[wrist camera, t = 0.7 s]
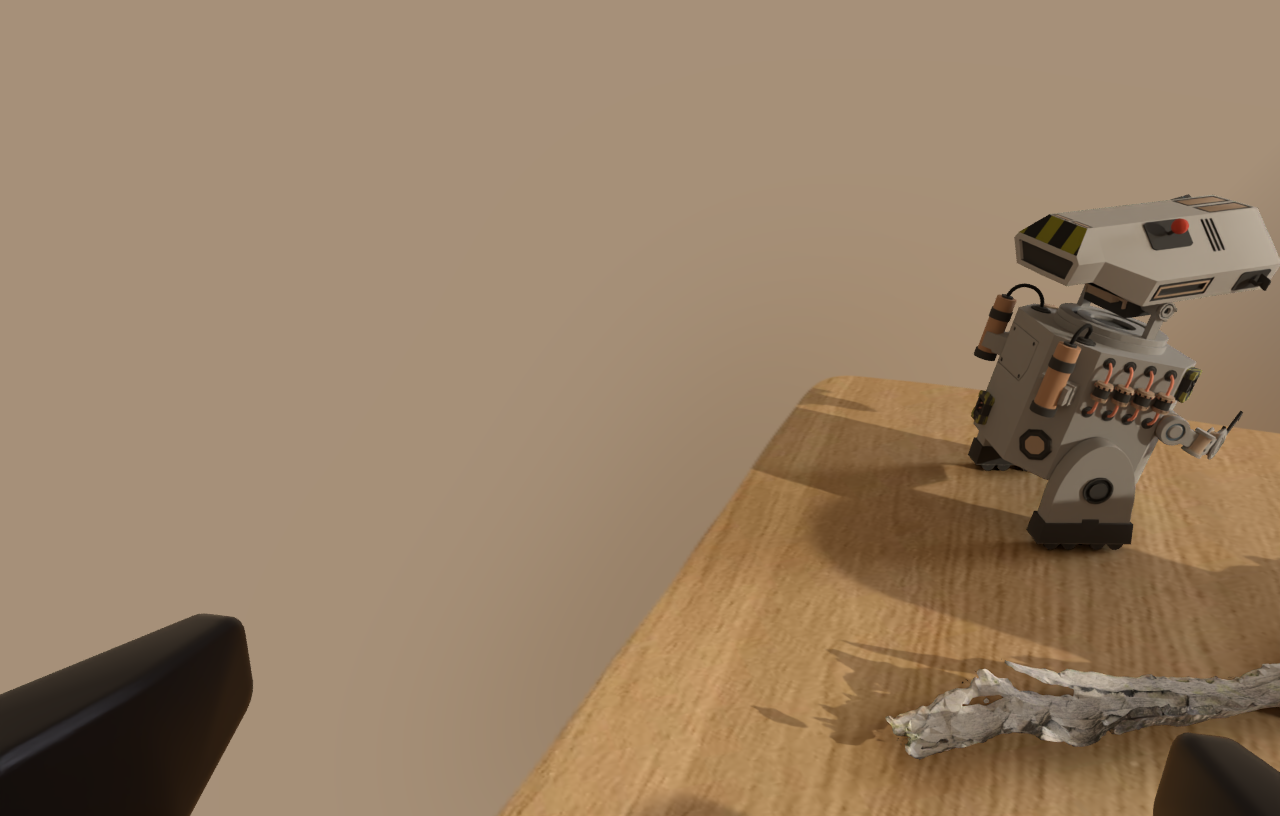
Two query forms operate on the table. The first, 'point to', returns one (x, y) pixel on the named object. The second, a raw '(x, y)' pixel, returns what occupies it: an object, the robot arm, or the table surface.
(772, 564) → the table surface
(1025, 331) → the figurine
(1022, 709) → the driftwood
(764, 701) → the table surface
